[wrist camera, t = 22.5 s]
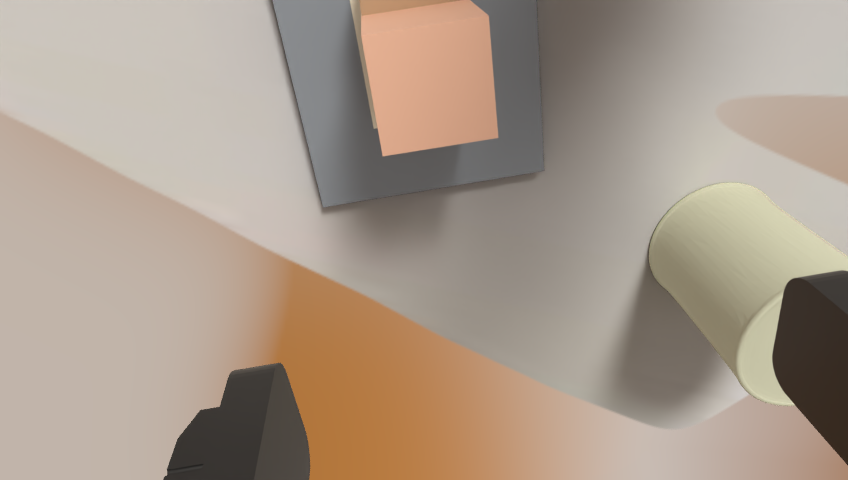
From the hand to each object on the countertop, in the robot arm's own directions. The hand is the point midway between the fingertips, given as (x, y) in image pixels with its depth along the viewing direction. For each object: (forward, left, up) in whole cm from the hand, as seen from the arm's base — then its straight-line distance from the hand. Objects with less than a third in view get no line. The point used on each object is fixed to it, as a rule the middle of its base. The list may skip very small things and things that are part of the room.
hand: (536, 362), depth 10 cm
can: (+17, +19, -28) cm, 38 cm away
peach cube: (0, 0, -22) cm, 22 cm away
